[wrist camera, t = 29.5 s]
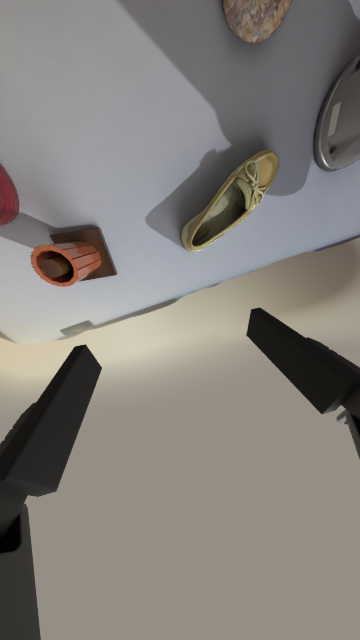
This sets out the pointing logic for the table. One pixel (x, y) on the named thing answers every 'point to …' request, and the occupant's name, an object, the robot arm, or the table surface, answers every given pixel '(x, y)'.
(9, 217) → the kitchen canister
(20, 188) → the table surface
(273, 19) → the fossil
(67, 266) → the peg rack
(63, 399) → the robot arm
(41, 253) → the faceted orange sleeve
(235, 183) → the boat shoe
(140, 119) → the table surface
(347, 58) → the table surface
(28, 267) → the table surface
